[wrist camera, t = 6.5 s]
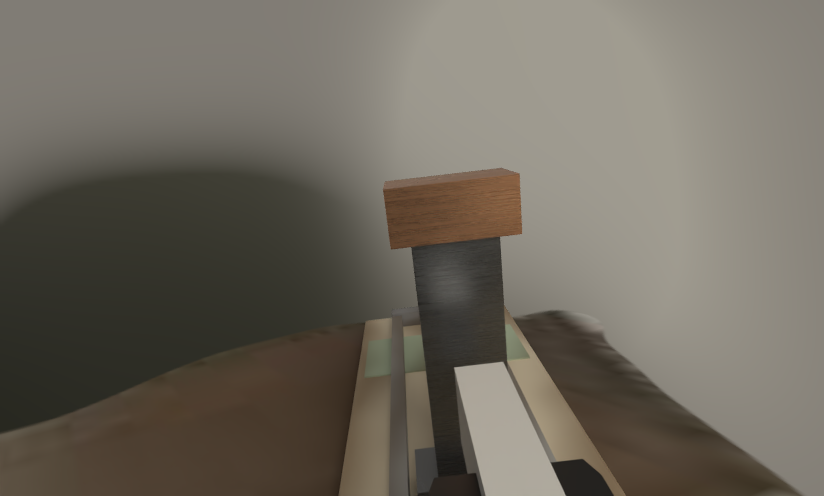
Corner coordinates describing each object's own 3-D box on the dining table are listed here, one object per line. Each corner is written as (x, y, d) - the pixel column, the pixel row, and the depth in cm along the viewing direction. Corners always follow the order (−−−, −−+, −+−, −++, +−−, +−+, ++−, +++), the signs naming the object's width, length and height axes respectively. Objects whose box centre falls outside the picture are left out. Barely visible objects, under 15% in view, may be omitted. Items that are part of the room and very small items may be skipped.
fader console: (325, 687, 14) (308, 615, 13) (369, 341, 37) (364, 308, 36) (686, 641, 14) (693, 568, 13) (504, 325, 37) (502, 291, 36)
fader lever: (420, 517, 17) (376, 190, 14) (417, 471, 19) (379, 182, 16) (538, 502, 17) (525, 172, 14) (521, 458, 19) (506, 167, 16)
